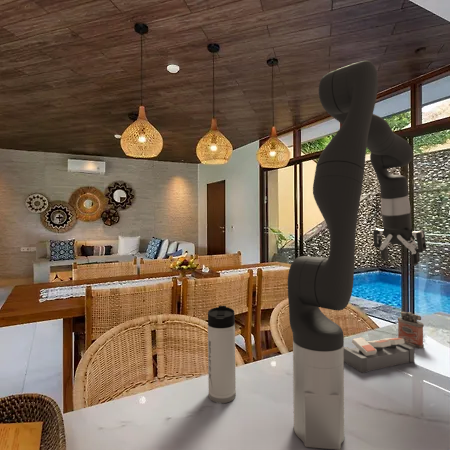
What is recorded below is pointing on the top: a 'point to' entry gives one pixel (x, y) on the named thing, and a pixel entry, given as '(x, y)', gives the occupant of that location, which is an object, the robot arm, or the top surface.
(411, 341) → the lighter
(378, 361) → the dark grey slotted base
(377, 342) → the rocker middle
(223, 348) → the travel mug
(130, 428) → the top surface
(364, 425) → the top surface
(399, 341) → the rocker far
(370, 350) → the rocker near
